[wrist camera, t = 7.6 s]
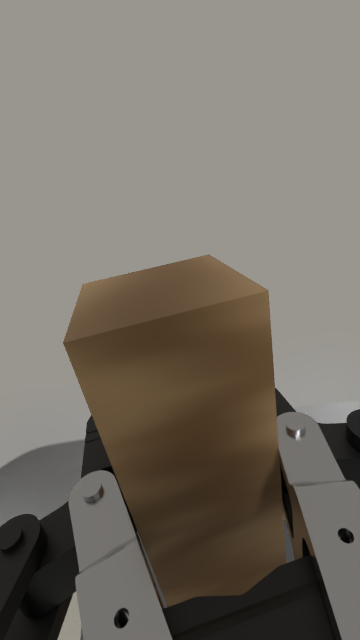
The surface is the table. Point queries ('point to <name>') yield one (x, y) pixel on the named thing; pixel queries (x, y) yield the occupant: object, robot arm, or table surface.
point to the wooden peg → (187, 418)
